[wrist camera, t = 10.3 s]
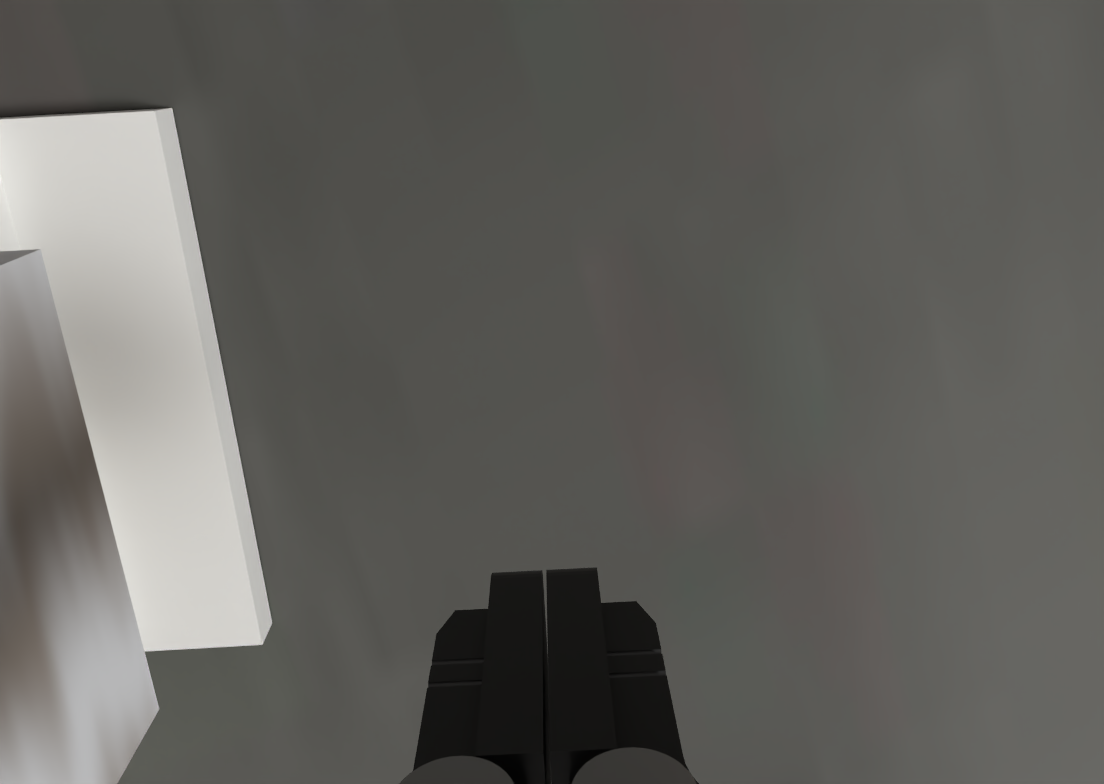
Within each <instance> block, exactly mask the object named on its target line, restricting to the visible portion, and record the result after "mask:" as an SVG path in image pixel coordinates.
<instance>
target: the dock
mask: <svg viewBox="0 0 1104 784" xmlns="http://www.w3.org/2000/svg"><path fill="white" fill-rule="evenodd" d="M34 249H41V253H42V257H43V261H44V264H45V268H46V272H47V276H48V280H49V284H50V288H51V292H52V295H53V299H54V303H55V307H56V311H57V315H58V319H59V323H60V326H61V330H62V334H63V338H64V342H65V346H66V350H67V354H68V357H69V361H70V365H71V369H72V373H73V377H74V381H75V385H76V388H77V392H78V396H79V400H80V404H81V408H82V412H83V416H84V419H85V423H86V427H87V431H88V435H89V439H90V443H91V447H92V450H93V454H94V458H95V462H96V466H97V470H98V474H99V478H100V481H101V485H102V489H103V493H104V497H105V501H106V505H107V509H108V512H109V516H110V520H111V524H112V528H113V532H114V536H115V540H116V543H117V547H118V551H119V555H120V559H121V563H122V567H123V571H124V575H125V578H126V582H127V586H128V590H129V594H130V598H131V602H132V606H133V609H134V613H135V617H136V621H137V625H138V629H139V633H140V637H141V640H142V644H143V648H144V651H160V650H177V649H195V648H213V647H230V646H248V645H262V644H263V642H264V640H265V638H266V636H267V633H268V631H269V629H270V627H271V625H272V619H271V614H270V609H269V604H268V599H267V594H266V588H265V583H264V578H263V573H262V568H261V563H260V558H259V552H258V547H257V542H256V537H255V532H254V527H253V522H252V516H251V511H250V506H249V501H248V496H247V491H246V486H245V480H244V475H243V470H242V465H241V460H240V455H239V450H238V444H237V439H236V434H235V429H234V424H233V419H232V413H231V408H230V403H229V398H228V393H227V388H226V383H225V377H224V372H223V367H222V362H221V357H220V352H219V347H218V341H217V336H216V331H215V326H214V321H213V316H212V311H211V305H210V300H209V295H208V290H207V285H206V280H205V275H204V269H203V264H202V259H201V254H200V249H199V244H198V239H197V233H196V228H195V223H194V218H193V213H192V208H191V203H190V197H189V192H188V187H187V182H186V177H185V172H184V167H183V161H182V156H181V151H180V146H179V141H178V136H177V131H176V125H175V120H174V115H173V110H172V108H162V109H144V110H127V111H109V112H91V113H74V114H56V115H38V116H21V117H3V118H0V251H17V250H34Z"/></svg>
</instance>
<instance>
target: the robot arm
mask: <svg viewBox="0 0 1104 784" xmlns="http://www.w3.org/2000/svg"><path fill="white" fill-rule="evenodd" d="M547 628H548V654H547V637H546V620H545V604H544V587H543V573H542V570H541V571H521V572H501V573H492V575H491V583H490V595H489V606H488V609H475V610H455V612H454V613H453V614H452V615H451V617H450V618H449V619H448V620H447V622H446V623H445V624H444V625H443V627H442V628H441V629H440V630H439V632H438V633H437V634H436V640H435V646H434V652H433V658H432V666H431V670H430V675H429V681H428V688H427V693H426V699H425V705H424V711H423V716H422V722H421V728H420V734H419V740H418V746H417V752H416V757H415V763H414V769H413V772H411V773H410V774H409V775H408V776H406V777H405V778H404V779H403V780H402V781H401V783H400V784H551V781H552V784H699V783H698V782H697V781H696V780H695V779H694V777H693V776H692V775H691V773H690V772H689V770H688V768H687V766H686V764H685V761H684V757H683V753H682V749H681V744H680V739H679V734H678V729H677V724H676V719H675V714H674V710H673V705H672V700H671V695H670V690H669V685H668V680H667V676H666V672H665V666H664V661H663V656H662V654H661V646H660V641H659V636H658V632H657V627H656V623H655V622H654V621H653V619H652V618H651V617H650V616H649V615H648V614H647V613H646V612H645V611H644V609H643V608H642V607H641V606H640V605H639V604H638V603H637V602H636V601H633V602H613V603H601V599H600V591H599V582H598V573H597V568H578V569H558V570H547Z"/></svg>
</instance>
